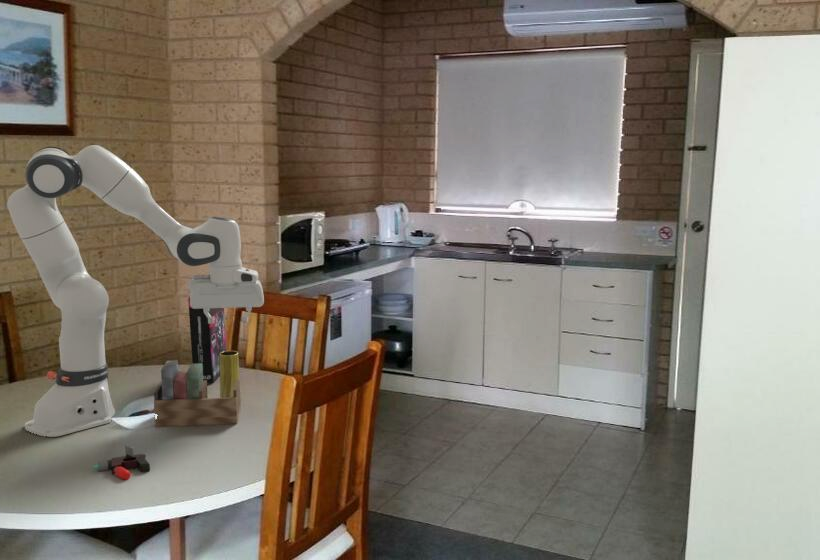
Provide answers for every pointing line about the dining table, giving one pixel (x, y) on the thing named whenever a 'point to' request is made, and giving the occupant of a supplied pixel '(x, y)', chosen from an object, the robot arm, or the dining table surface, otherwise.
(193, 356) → the graphics card box
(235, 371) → the vase
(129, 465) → the toy gun
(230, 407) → the wooden desk organizer
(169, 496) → the dining table surface
